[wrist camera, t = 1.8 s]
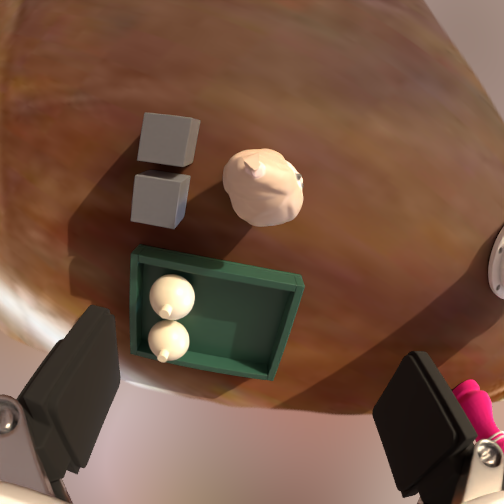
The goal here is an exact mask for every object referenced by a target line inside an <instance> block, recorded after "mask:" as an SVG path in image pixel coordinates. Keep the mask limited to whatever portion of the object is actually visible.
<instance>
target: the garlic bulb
mask: <svg viewBox="0 0 504 504" xmlns="http://www.w3.org/2000/svg"><path fill="white" fill-rule="evenodd" d="M223 185H224V189H225V191H226V192H227V193H228V194H229V196H230V199H231V203H232V207H233V209H234V211H235V212H236V213H237V215H238V216H239V217H240V218H241V219H243V220H245V221H247V222H248V223H249V224H251V225H253V226H272V225H278V224H283V223H285V222H287V221H291V220H293V219H294V218H295V217H296V216H297V214H298V213H299V211H300V209H301V206H302V203H303V194H302V188H303V179H302V176H301V174H299V173H298V172H297V171H296V169H295V168H294V167H293V166H292V165H291V164H290V163H289V162H287V161H286V160H285V159H284V158H283V156H282V155H281V154H280V153H278V152H276V151H273V150H270V149H253V150H244V151H242V152H239V153H237V154H236V155H234V156H233V157H231V159H230V160H229V162H228V163H227V164H226V165H225V167H224V170H223Z"/></svg>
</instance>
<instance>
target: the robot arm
mask: <svg viewBox="0 0 504 504" xmlns="http://www.w3.org/2000/svg"><path fill="white" fill-rule="evenodd" d="M488 279H489V284H490V288H491V289H492V291H493V292H494V293H495V294H496V295H497V296H498V297H500V298H501V299H504V226H503V228H502V230H501V231H500V233H499V235H498V237H497V239H496V241H495V243H494V246H493V248H492V252H491V255H490V260H489V266H488ZM119 384H120V370H119V361H118V351H117V339H116V326H115V317H114V315H112V314H110V311H109V309H107V308H103V307H99V306H95V305H90V306H89V307H88V308H87V310H86V311H85V312H84V313H83V315H82V316H81V317H80V318H79V320H78V321H77V322H76V324H75V325H74V326H73V327H72V329H71V330H70V331H69V333H68V334H67V335H66V336H65V338H64V339H62V340H59V341H58V342H57V343H56V344H55V346H54V347H53V348H52V350H51V351H50V352H49V354H48V355H47V356H46V358H45V359H44V361H43V362H42V363H41V365H40V366H39V368H38V369H37V370H36V372H35V373H34V374H33V376H32V377H31V379H30V380H29V382H28V383H27V384H26V386H25V388H24V389H23V390H22V392H21V393H20V395H19V396H18V398H17V399H14V398H13V397H11V396H8V395H0V504H73V503H72V501H71V499H70V496H69V494H68V492H67V490H66V487H65V485H64V483H63V480H62V478H63V477H64V475H65V473H66V470H68V471H70V472H73V473H75V474H78V472H79V469H80V467H82V468H85V467H86V465H87V463H88V460H89V458H90V455H91V453H92V450H93V447H94V445H95V443H96V440H97V437H98V435H99V433H100V430H101V428H102V425H103V423H104V420H105V418H106V415H107V413H108V411H109V408H110V406H111V404H112V401H113V399H114V397H115V394H116V392H117V390H118V388H119ZM373 418H374V421H375V424H376V426H377V430H378V432H379V435H380V438H381V441H382V444H383V447H384V450H385V453H386V456H387V459H388V462H389V465H390V468H391V471H392V474H393V477H394V480H395V483H396V487H397V489H398V490H399V491H401V493H402V496H403V498H405V497H409V496H413V495H416V494H417V493H418V492H419V494H420V498H419V500H418V503H417V504H504V453H503V451H502V449H501V447H500V446H499V445H498V444H497V443H496V442H494V441H493V440H490V439H481V440H479V441H478V442H477V443H476V444H475V445H474V444H473V441H474V440H475V439H476V438H477V436H478V434H477V433H476V431H475V429H474V427H473V426H472V424H471V422H470V420H469V419H468V417H467V415H466V414H465V412H464V410H463V409H462V407H461V405H460V404H459V402H458V400H457V399H456V397H455V395H454V394H453V392H452V390H451V389H450V387H449V386H448V384H447V383H446V381H445V379H444V378H443V376H442V375H441V373H440V372H439V370H438V369H437V367H436V365H435V364H434V362H433V361H432V359H431V358H430V356H429V355H428V354H427V353H426V352H422V351H411V352H409V353H408V355H406V356H405V357H404V358H403V359H402V361H401V363H400V365H399V367H398V368H397V370H396V372H395V374H394V375H393V377H392V379H391V380H390V382H389V384H388V385H387V387H386V389H385V390H384V392H383V394H382V395H381V397H380V398H379V400H378V402H377V403H376V405H375V406H374V408H373Z"/></svg>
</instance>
